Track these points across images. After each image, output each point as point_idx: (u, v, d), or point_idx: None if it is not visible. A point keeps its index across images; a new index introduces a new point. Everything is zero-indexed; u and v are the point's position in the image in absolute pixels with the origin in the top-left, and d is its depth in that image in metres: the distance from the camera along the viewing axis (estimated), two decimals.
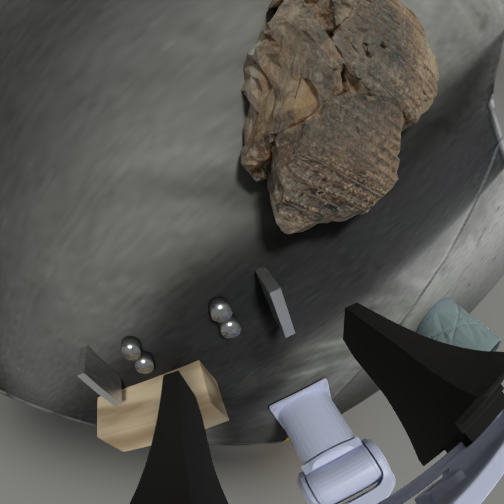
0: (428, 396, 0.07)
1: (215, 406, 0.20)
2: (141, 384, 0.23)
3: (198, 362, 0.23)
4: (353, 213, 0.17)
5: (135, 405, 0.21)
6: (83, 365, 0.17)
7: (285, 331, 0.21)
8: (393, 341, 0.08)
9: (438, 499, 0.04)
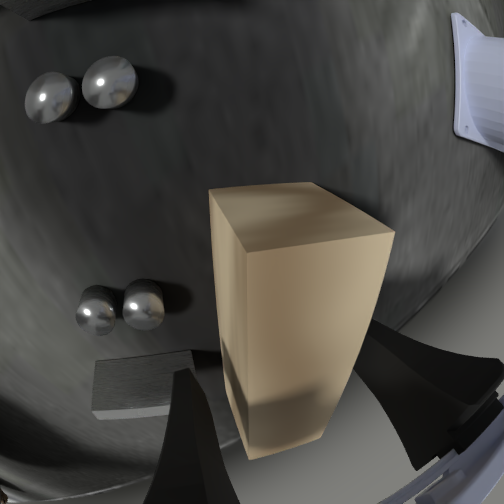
0: (420, 402, 0.07)
1: (291, 243, 0.06)
2: (219, 329, 0.12)
3: (210, 194, 0.10)
4: None
5: (232, 377, 0.11)
6: (93, 398, 0.10)
7: None
8: (385, 346, 0.08)
9: (438, 499, 0.04)
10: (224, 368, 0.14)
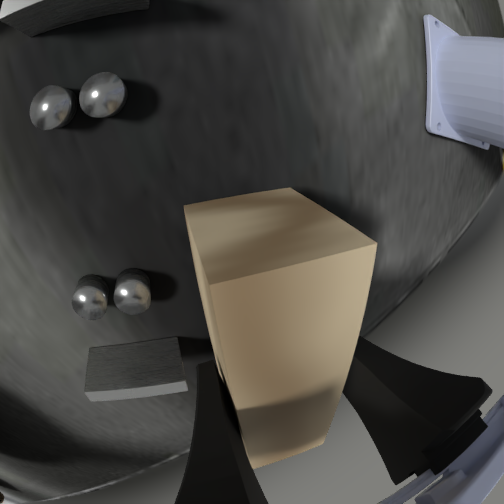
0: (395, 420, 0.06)
1: (258, 269, 0.06)
2: (212, 343, 0.12)
3: (185, 212, 0.09)
4: None
5: None
6: (86, 381, 0.11)
7: None
8: (360, 360, 0.08)
9: (438, 499, 0.04)
10: None
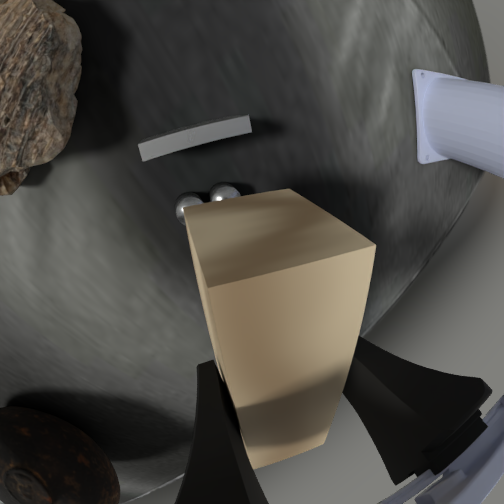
0: (395, 420, 0.06)
1: (256, 272, 0.06)
2: (212, 344, 0.12)
3: (184, 214, 0.09)
4: (46, 50, 0.07)
5: None
6: None
7: (235, 132, 0.12)
8: (360, 360, 0.08)
9: (438, 499, 0.04)
10: None
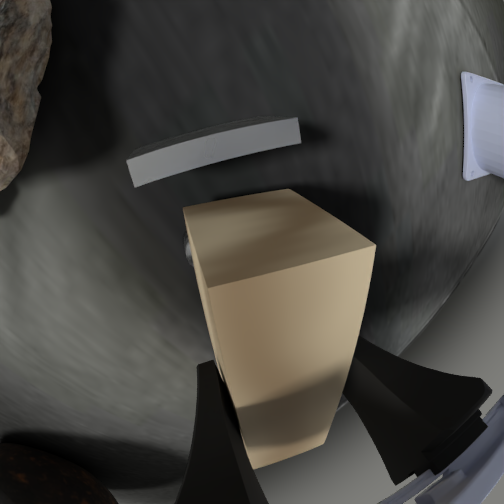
0: (395, 420, 0.06)
1: (256, 272, 0.06)
2: (212, 344, 0.12)
3: (184, 214, 0.09)
4: None
5: None
6: None
7: (277, 142, 0.08)
8: (360, 360, 0.08)
9: (438, 499, 0.04)
10: None
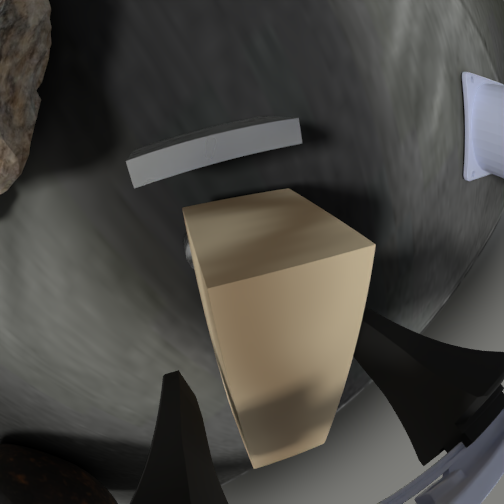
0: (428, 396, 0.07)
1: (256, 272, 0.06)
2: None
3: (184, 214, 0.09)
4: None
5: (227, 392, 0.11)
6: None
7: (278, 142, 0.08)
8: (393, 341, 0.08)
9: (438, 499, 0.04)
10: (222, 380, 0.13)
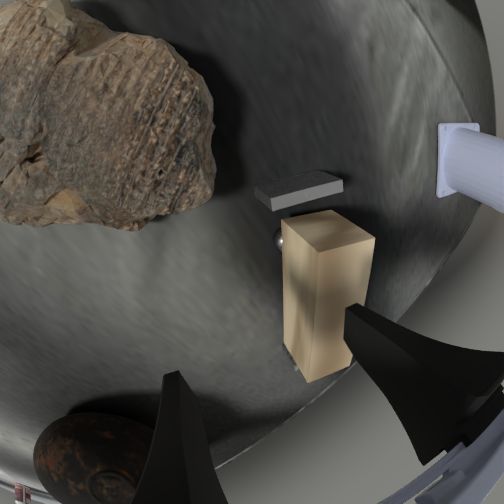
0: (428, 396, 0.07)
1: (333, 247, 0.15)
2: (285, 297, 0.22)
3: (283, 223, 0.19)
4: (196, 112, 0.12)
5: (297, 323, 0.20)
6: (291, 361, 0.25)
7: (333, 191, 0.17)
8: (393, 341, 0.08)
9: (438, 499, 0.04)
10: (286, 324, 0.23)
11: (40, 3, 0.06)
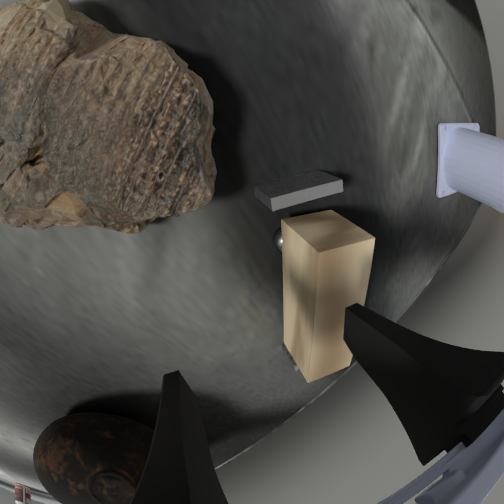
0: (428, 396, 0.07)
1: (333, 247, 0.15)
2: (285, 297, 0.22)
3: (283, 223, 0.19)
4: (196, 115, 0.12)
5: (297, 323, 0.20)
6: (291, 361, 0.25)
7: (333, 191, 0.17)
8: (393, 341, 0.08)
9: (438, 499, 0.04)
10: (286, 324, 0.23)
11: (39, 5, 0.06)
